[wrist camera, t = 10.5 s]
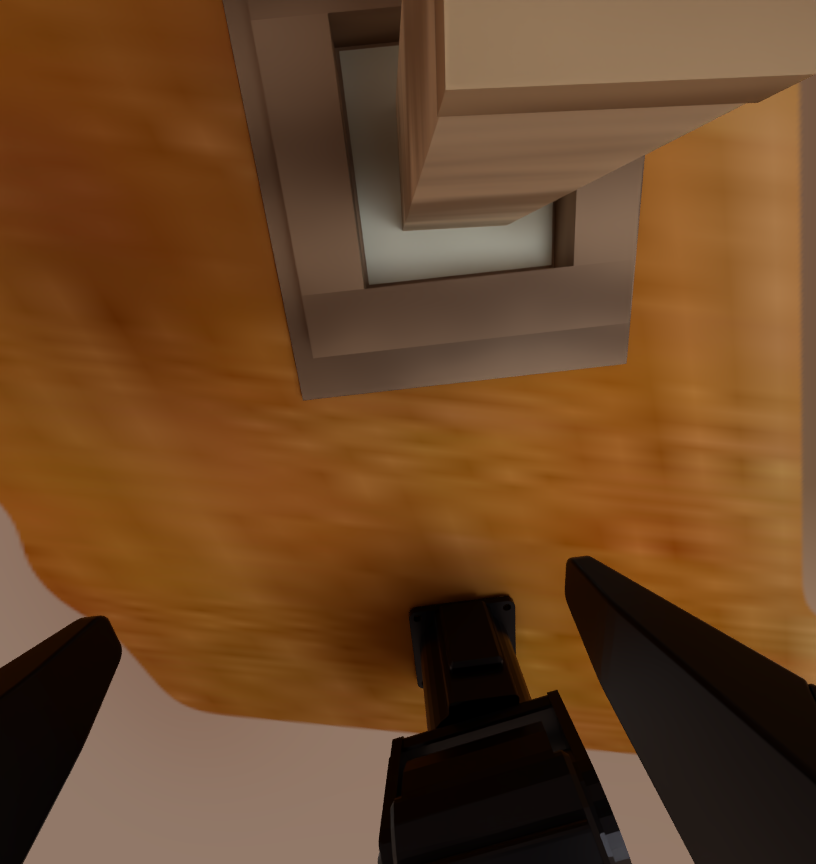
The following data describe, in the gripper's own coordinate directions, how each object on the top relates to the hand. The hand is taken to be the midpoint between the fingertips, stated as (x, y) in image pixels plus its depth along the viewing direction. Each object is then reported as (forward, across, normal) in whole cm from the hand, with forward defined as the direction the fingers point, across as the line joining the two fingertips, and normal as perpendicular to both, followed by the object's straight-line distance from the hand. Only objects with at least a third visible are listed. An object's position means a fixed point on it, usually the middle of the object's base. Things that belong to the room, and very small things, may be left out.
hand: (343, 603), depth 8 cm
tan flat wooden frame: (+13, -5, -10) cm, 17 cm away
